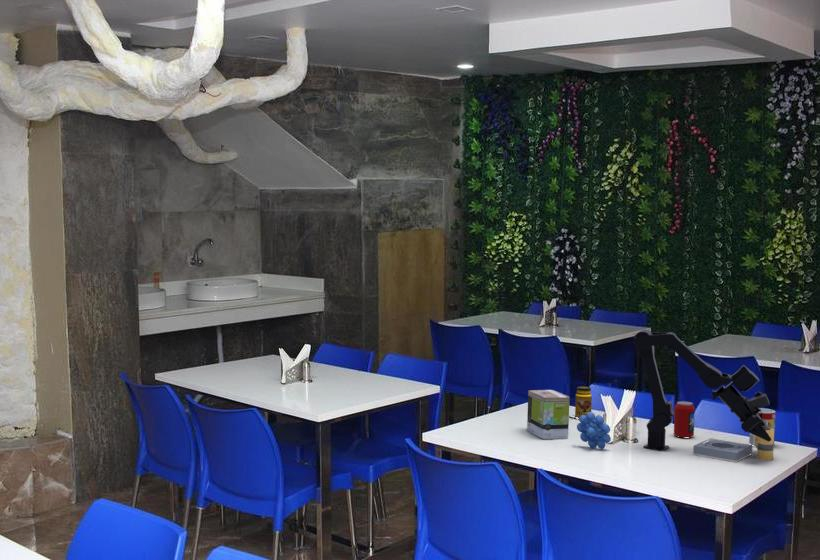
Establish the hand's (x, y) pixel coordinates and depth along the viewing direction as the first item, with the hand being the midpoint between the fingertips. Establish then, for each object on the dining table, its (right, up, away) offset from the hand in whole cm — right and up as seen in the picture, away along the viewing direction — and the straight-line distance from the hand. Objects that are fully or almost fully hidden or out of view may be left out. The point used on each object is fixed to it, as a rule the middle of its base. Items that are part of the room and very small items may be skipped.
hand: (770, 438), depth 301 cm
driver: (-1, -7, +1) cm, 7 cm away
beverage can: (-19, -5, +30) cm, 36 cm away
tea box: (-67, -4, +30) cm, 73 cm away
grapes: (-55, -5, +10) cm, 56 cm away
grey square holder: (-14, -6, +5) cm, 16 cm away
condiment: (-49, -2, +59) cm, 77 cm away
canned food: (+4, -6, +18) cm, 20 cm away
